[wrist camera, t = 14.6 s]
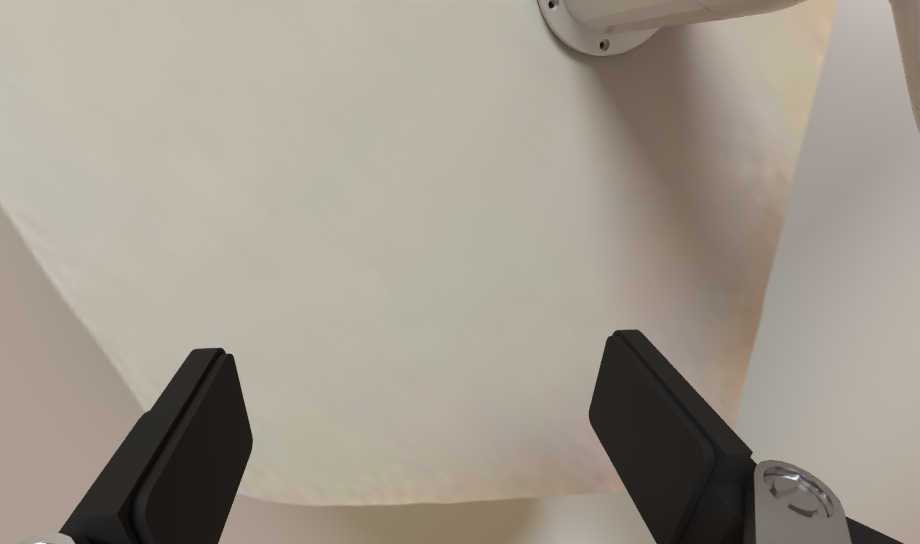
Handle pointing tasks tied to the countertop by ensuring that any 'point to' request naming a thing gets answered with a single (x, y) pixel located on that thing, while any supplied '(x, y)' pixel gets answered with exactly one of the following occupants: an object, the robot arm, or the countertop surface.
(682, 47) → the countertop surface
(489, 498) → the countertop surface
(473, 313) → the countertop surface
